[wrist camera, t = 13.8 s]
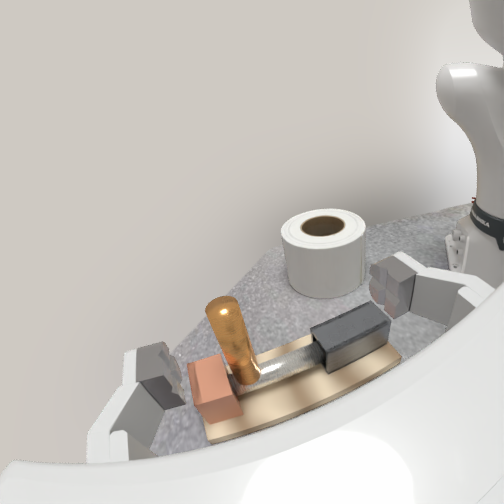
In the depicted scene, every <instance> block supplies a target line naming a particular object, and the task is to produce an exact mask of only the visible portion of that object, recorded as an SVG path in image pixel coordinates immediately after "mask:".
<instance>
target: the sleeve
mask: <svg viewBox="0 0 504 504" xmlns="http://www.w3.org/2000/svg"><path fill="white" fill-rule="evenodd" d="M390 325H391V320H390V319H389V318H388V317H387V316H386V315H385V314H384V313H383V312H382V311H381V310H380V309H379V308H378V307H377V306H376V305H375V304H374V303H373V302H372V301H369V302H367V303H365V304H362V305H360V306H358V307H356V308H354V309H352V310H350V311H348V312H346V313H343V314H341V315H339V316H337V317H335V318H332V319H330V320H328V321H326V322H323V323H321V324H319V325H316V326H314V327H312V328H310V330H311V340H312V343H313V342H315V341H318V342H319V344H320V345H321V347H322V348H323V350H324V351H325V352H326V361H325V362H323V363H321V365H322V366H323V368H324V369H325V371H326V373H327V374H328V375H329V374H331V373H333V372H335V371H337V370H339V369H341V368H343V367H345V366H347V365H349V364H351V363H353V362H355V361H357V360H359V359H361V358H363V357H365V356H367V355H368V354H370V353H372V352H374V351H376V350H377V349H379V348H381V347H383V346H384V345H386V344H387V342H388V336H389V331H390Z"/></svg>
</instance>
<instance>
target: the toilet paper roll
mask: <svg viewBox="0 0 504 504" xmlns="http://www.w3.org/2000/svg"><path fill="white" fill-rule="evenodd" d="M281 236H282V242H283V248H284V254H285V260H286V266H287V272H288V278H289V282H290V284H291V286H292V287H293V288H294V289H295V290H296V291H297V292H299V293H300V294H303V295H305V296H308V297H312V298H318V299H331V298H337V297H340V296H344V295H346V294H348V293H350V292H352V291H354V290H355V289H356V288H357V287H359V286H360V284H361V285H362V284H363V281H364V277H365V250H366V227H365V222H364V221H363V219H362V218H361V217H359V216H358V215H356V214H354V213H352V212H349V211H345V210H340V209H318V210H312V211H308V212H304V213H301V214H299V215H296V216H294V217H293V218H291V219H289V220H288V221H287V222H286V223H285V224H284V225H283V226H282V229H281Z"/></svg>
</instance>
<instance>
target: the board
mask: <svg viewBox="0 0 504 504" xmlns="http://www.w3.org/2000/svg"><path fill="white" fill-rule="evenodd" d="M310 343H312V340H311V334H310V335H307V336H305V337H302V338H300V339H298V340H295V341H293V342H290V343H288V344H285V345H283V346H280V347H277V348H275V349H272V350H270V351H267V352H264V353H262V354H259V355H256V359H257V362H258V364H260V363H263V362H266V361H268V360H271V359H273V358H276V357H279V356H281V355H284V354H286V353H289V352H291V351H294V350H296V349H299V348H301V347H303V346H306V345H308V344H310ZM401 357H402V356H401V355H400V354H399V353H398V352H397V351H396V350H395V349H394V348H393V346H392V345H391V344H390V343H389V342H387V344H386V345H384V346H383V347H381V348H379V349H377V350H376V351H374V352H372V353H370V354H368V355H367V356H365V357H363V358H361V359H359V360H357V361H355V362H353V363H351V364H349V365H347V366H345V367H343V368H341V369H339V370H337V371H335V372H333V373H331V374H329V375H328V374H327V373H326V371H325V369H324V368H323V366H322V365H321V364H319V365H316V366H314V367H312V368H309V369H307V370H305V371H302V372H300V373H298V374H295V375H293V376H290V377H288V378H285V379H283V380H280V381H278V382H275V383H273V384H270V385H267V386H265V387H262V388H259V389H256V390H253V391H251V392H248V393H245V394H242V395H239V396H238V399H239V402H240V405H241V408H242V411H243V414H244V415H241V416H238V417H234V418H231V419H228V420H225V421H221V422H218V423H214V424H209V423H208V422H207V421H206V420H205V418H204V417H203V416H202V417H203V422H204V426H205V430H206V434H207V438H208V441H209V442H210V443H211V444H215V443H219V442H223V441H226V440H230V439H233V438H237V437H240V436H243V435H246V434H249V433H252V432H255V431H258V430H261V429H264V428H267V427H270V426H273V425H275V424H278V423H281V422H283V421H286V420H288V419H291V418H293V417H296V416H298V415H301V414H303V413H306V412H308V411H310V410H312V409H315V408H317V407H319V406H321V405H324V404H326V403H328V402H330V401H332V400H334V399H336V398H338V397H340V396H342V395H344V394H346V393H348V392H350V391H352V390H354V389H356V388H358V387H360V386H361V385H363V384H365V383H367V382H369V381H371V380H372V379H374V378H376V377H378V376H379V375H381V374H383V373H384V372H386V371H388V370H389V369H391V368H393V367H394V366H396V365H397V364H399V363H400V361H401ZM226 367H227V369H228V371H229V373H230V374H232V371H231V369H230V367H229V365H227V366H226Z"/></svg>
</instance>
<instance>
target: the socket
mask: <svg viewBox="0 0 504 504" xmlns="http://www.w3.org/2000/svg"><path fill="white" fill-rule="evenodd" d="M187 368H188V374H189V380H190V385H191V391H192V396H193V401H194V406H195V407H196V408H197V410H198V411H199V412H200V413H201V415H202V416H203V417H204V418H205V420H206V421H207V422H208V423H209V424H214V423H218V422H221V421H225V420H228V419H231V418H234V417H238V416H241V415H244V414H243V411H242V408H241V405H240V402H239V399H238V396H235V394H234V392H233V390H232V388H231V385H230V382H229V378H228V375H229V374H230V373H229V371H228V369H227V367H226V365H225V363H224V361H223V358H222V356H221V354H217V355H214V356H211V357H208V358H205V359H201V360H198V361H195V362H192V363H188V364H187Z"/></svg>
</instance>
